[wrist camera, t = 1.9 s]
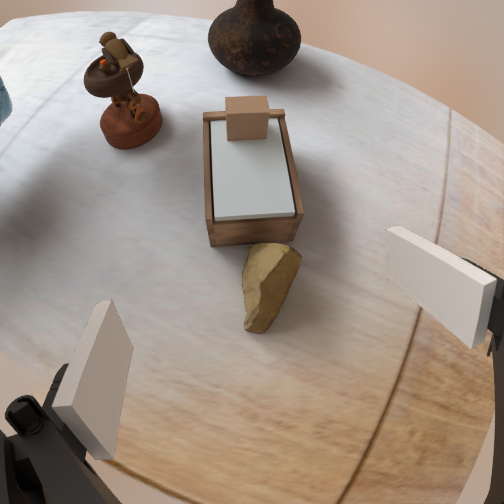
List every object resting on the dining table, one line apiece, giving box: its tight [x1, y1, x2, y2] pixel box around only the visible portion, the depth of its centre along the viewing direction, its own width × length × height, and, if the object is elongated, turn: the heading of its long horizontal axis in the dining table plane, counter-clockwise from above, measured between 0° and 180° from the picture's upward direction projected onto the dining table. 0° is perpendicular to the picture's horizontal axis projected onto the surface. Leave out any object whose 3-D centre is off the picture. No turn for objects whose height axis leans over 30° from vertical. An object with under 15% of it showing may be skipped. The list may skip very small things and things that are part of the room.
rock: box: [242, 242, 302, 334], centre depth 38 cm, size 11×9×10 cm
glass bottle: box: [208, 0, 301, 75], centre depth 45 cm, size 18×18×28 cm
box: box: [203, 109, 304, 247], centre depth 42 cm, size 11×16×9 cm
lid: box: [211, 96, 295, 221], centre depth 37 cm, size 9×15×6 cm, turn 5°
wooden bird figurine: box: [84, 32, 162, 149], centre depth 41 cm, size 15×11×20 cm
